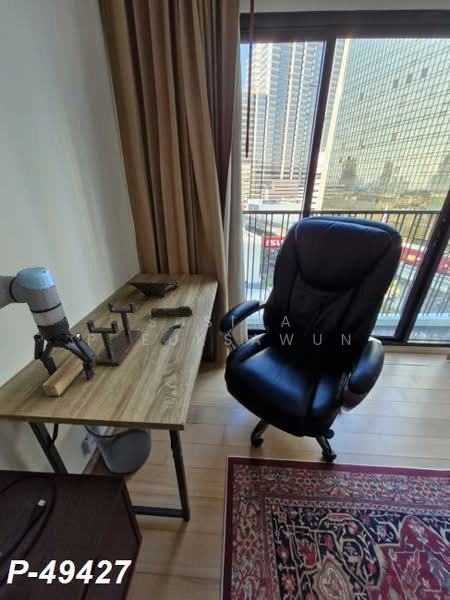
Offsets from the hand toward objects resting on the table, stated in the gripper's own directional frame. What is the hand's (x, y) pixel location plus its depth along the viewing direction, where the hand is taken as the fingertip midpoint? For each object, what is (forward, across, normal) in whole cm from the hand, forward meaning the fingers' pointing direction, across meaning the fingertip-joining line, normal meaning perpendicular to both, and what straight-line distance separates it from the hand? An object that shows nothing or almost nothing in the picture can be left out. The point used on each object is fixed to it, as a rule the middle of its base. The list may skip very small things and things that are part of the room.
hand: (72, 375), depth 83 cm
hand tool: (0, -22, -42) cm, 48 cm away
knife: (0, -26, -26) cm, 37 cm away
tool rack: (0, -9, -16) cm, 18 cm away
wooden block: (0, 0, 0) cm, 0 cm away
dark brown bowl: (0, -7, -66) cm, 66 cm away
